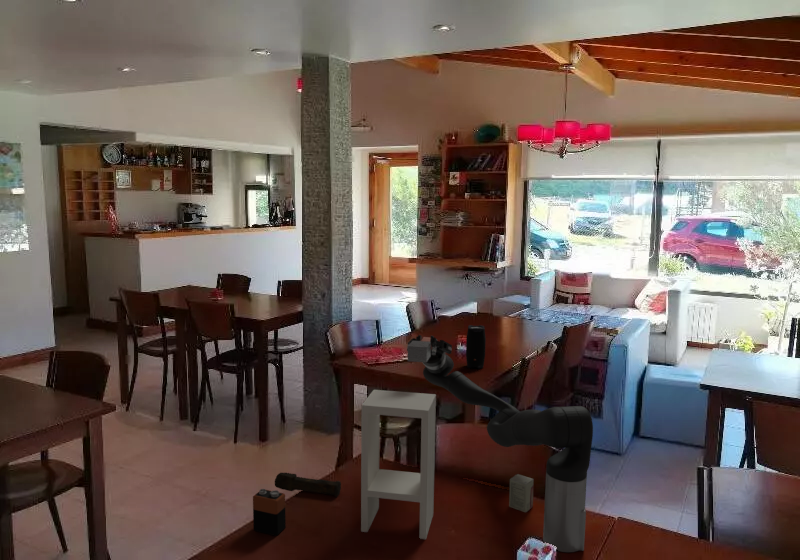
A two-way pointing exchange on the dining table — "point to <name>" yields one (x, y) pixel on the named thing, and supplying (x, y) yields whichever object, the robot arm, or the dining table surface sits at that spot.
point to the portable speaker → (475, 346)
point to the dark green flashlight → (307, 484)
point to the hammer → (419, 350)
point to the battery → (269, 512)
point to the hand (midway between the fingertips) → (425, 338)
